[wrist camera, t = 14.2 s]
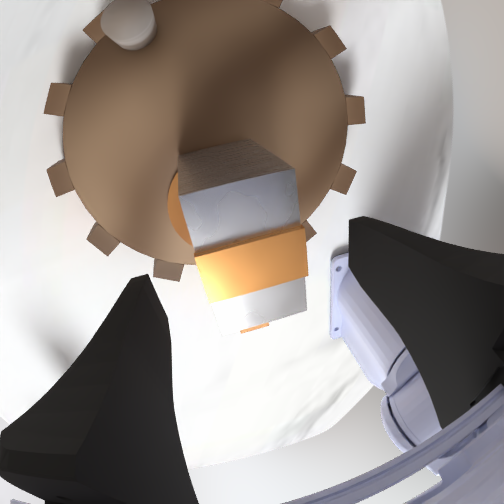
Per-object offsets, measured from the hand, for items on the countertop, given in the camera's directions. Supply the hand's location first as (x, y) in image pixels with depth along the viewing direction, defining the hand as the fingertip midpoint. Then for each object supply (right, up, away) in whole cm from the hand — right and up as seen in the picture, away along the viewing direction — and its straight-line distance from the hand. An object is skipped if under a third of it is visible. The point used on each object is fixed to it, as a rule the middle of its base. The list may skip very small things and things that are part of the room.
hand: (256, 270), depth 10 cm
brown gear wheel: (-3, +8, +5) cm, 10 cm away
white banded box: (-2, +3, +5) cm, 6 cm away
